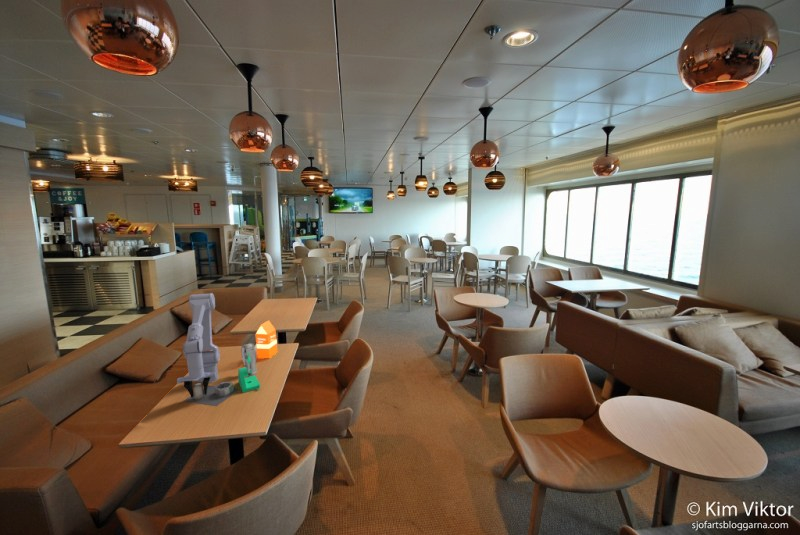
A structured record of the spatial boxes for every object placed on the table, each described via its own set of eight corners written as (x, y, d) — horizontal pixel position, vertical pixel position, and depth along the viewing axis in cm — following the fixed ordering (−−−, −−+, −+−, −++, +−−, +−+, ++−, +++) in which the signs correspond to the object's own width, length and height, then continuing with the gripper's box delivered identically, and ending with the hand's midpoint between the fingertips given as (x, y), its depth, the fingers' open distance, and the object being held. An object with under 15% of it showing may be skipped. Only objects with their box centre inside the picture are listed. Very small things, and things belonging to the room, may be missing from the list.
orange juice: (257, 358, 190) (254, 324, 187) (265, 352, 199) (263, 320, 196) (269, 358, 189) (266, 325, 186) (277, 352, 198) (275, 320, 195)
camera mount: (260, 390, 155) (259, 369, 153) (243, 395, 151) (241, 374, 149) (255, 380, 165) (253, 360, 163) (238, 384, 160) (236, 364, 159)
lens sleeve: (211, 395, 148) (211, 388, 148) (224, 387, 155) (223, 380, 155) (225, 397, 146) (224, 390, 146) (237, 389, 153) (236, 382, 153)
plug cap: (192, 399, 146) (191, 386, 145) (199, 395, 149) (198, 382, 148) (199, 400, 145) (197, 387, 144) (206, 396, 148) (204, 383, 147)
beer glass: (243, 377, 167) (241, 349, 165) (243, 372, 173) (240, 344, 171) (258, 374, 170) (256, 346, 168) (257, 369, 176) (255, 342, 174)
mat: (182, 403, 145) (182, 401, 145) (208, 387, 158) (208, 385, 158) (216, 408, 140) (216, 406, 140) (240, 391, 153) (240, 389, 153)
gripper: (173, 373, 139) (177, 403, 141) (213, 366, 144) (216, 395, 146) (177, 366, 145) (181, 395, 147) (215, 360, 150) (218, 388, 152)
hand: (199, 395), depth 147 cm, fingers open, 4 cm apart
